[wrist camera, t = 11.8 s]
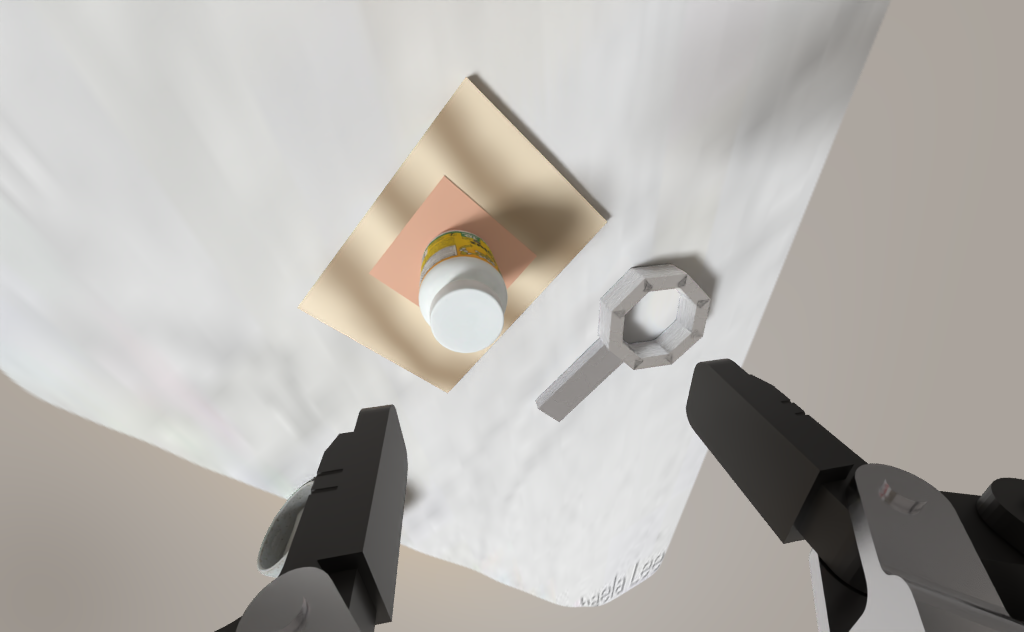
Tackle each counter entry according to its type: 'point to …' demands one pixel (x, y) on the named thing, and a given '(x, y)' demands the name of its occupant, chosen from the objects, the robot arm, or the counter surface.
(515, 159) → the birch board
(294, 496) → the ceramic mug
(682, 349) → the ring
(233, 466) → the counter surface
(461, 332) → the supplement bottle
